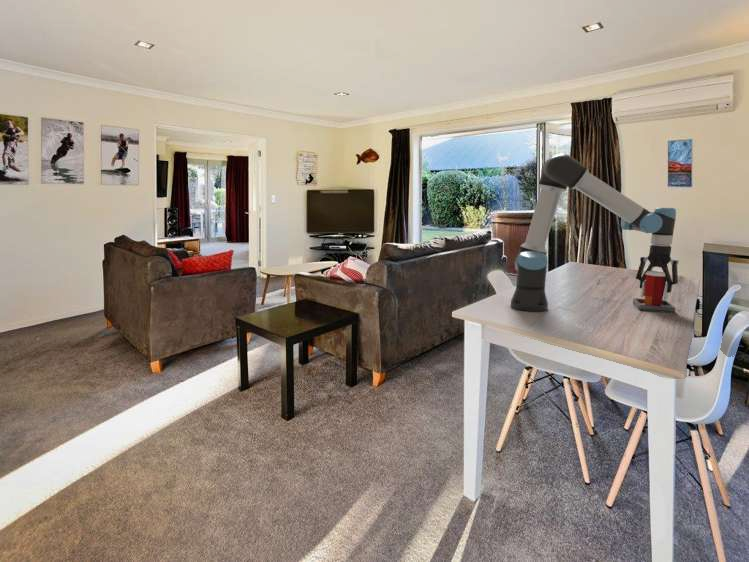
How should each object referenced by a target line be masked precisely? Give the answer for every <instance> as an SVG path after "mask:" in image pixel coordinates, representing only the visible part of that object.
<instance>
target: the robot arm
mask: <svg viewBox="0 0 749 562" xmlns="http://www.w3.org/2000/svg"><path fill="white" fill-rule="evenodd" d="M540 171H541V172H540V173H541V175H540V178H539V181H538V182H539V183H538V187H539V188H540V190H539V195H538V197H537V201H536V204H535V208H534V211H533V215H532V218H531V221H530V224H529V229H528V232H527V235H526V238H525V242H523V243H522V244H520V246H519V250H518V253H517V255H516V257H515V259H514V263H513V264H514V269H515V271H516V282H515V283H516V285H515V290H514V293H513V294H512V297H511V299H510V307H511V306H512V307H513V309H515V308H516V310H518V309H520V310H519V311H523V310H525V312H543V311H547V310H548V309H549V302H548V298H547V294H546V281H547V269H548V268H547V267H548V255H547V253H548V251H547V250H546V244H547V241H548V238H549V234H550V231H551V228H552V225H553V221H554V218H555V216H556V215H555V214H556V211H557V208H558V205H559V202H560V199H561V197H562V196H561V195H563V193H564V192H566V191H567V189H568V188H569V189H571V190H577V191H578V192H580V193H582V194H583V195H585V196H586V197H588V198H589V199H591V200H593V201H594V202H596V203H597V204H599V205H601V206H602V207H603V208H605V209H607V210H608V211H610V212H612V213H613V214H614V215H616V216H617V217H619V218H621V219H620V228H621V229H623V230H625V231H637V232H642V233H644V234H651V238H650V244H651V245H650V246H649V253H648V256H641V257H640V259H639V261H640V263H639V266H638V269H637V273H636V276H635V280H638V281H640V282H639V289H641V292H640V297H644V298H645V285H646V274H645V273H646V272H647V271H651V270H654V268H656V267H657V268H661V271H663V272H664V273H665V278H666V285H665V289H664V294H663V299H662V300H665V301H668V297H669V294H670V293H672V289H673V286H674V285H676V284H679V277H678V274H679V273H678V264H679V260H678V259H672V258H671V254H672V244H673V239H674V231H675V225H676V220H677V218H676V216H677V209H676V208H674V207H656V208H655V209H654V211H653V212H651V211H649V210H648V209H646V208H645V207H643V206H642V205H640V204H638V203H637V202H635V201H633V199H631V198H629V197H628V196H626V195H624V194H623V193H621V192H620V191H618V190H617V189H615V188H614V187H612V186H611V185H609V184H608V183H606V182H604V181H603V180H601V179H600V178H599V177H596V176H595V175H593V174H592V173H590V172H589V169H588V167H586V166H584V165H583V164H582V163H580V162H579V161H578V160H577V159H576V158H574V157H572V156H571V155H569V154H567V153H559V154H555V155H553V156H552V157H549V158H548V159H547V160H546V161H545V162H544V163H543V164H542V167H541V170H540ZM646 262H649V264H648V267H647V268H646V270H645V271H644V269H645V267H646ZM669 263H670V265H671V273H670V270H669V267H668V264H669ZM643 272H644V273H643ZM512 307H511V308H512Z"/></svg>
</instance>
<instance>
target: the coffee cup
mask: <svg viewBox="0 0 749 562" xmlns="http://www.w3.org/2000/svg"><path fill="white" fill-rule="evenodd" d="M644 273H645V272H644ZM645 274H646V280H645V281H646V285H645V296H644V299H645V305H654V306H661V304H662V300H663V297H664V290H665V285H667V281H666V278H665V273H664V272H663V270H657V269H652V270H651V271H647V272H646V273H645Z"/></svg>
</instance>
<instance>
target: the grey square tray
mask: <svg viewBox="0 0 749 562" xmlns="http://www.w3.org/2000/svg"><path fill="white" fill-rule="evenodd" d="M632 304H633V305H634V307H635V308H636V309H637V310H638V311H645V312H646V311H647V312H657V313H671V314H675V312H676V307H675V306H674V305H673V304H672V303H671V302H669V301H668V300H663V299H662V304H661V306H654V305H645V298H638V297H637V298H635V297H633V298H632Z"/></svg>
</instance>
